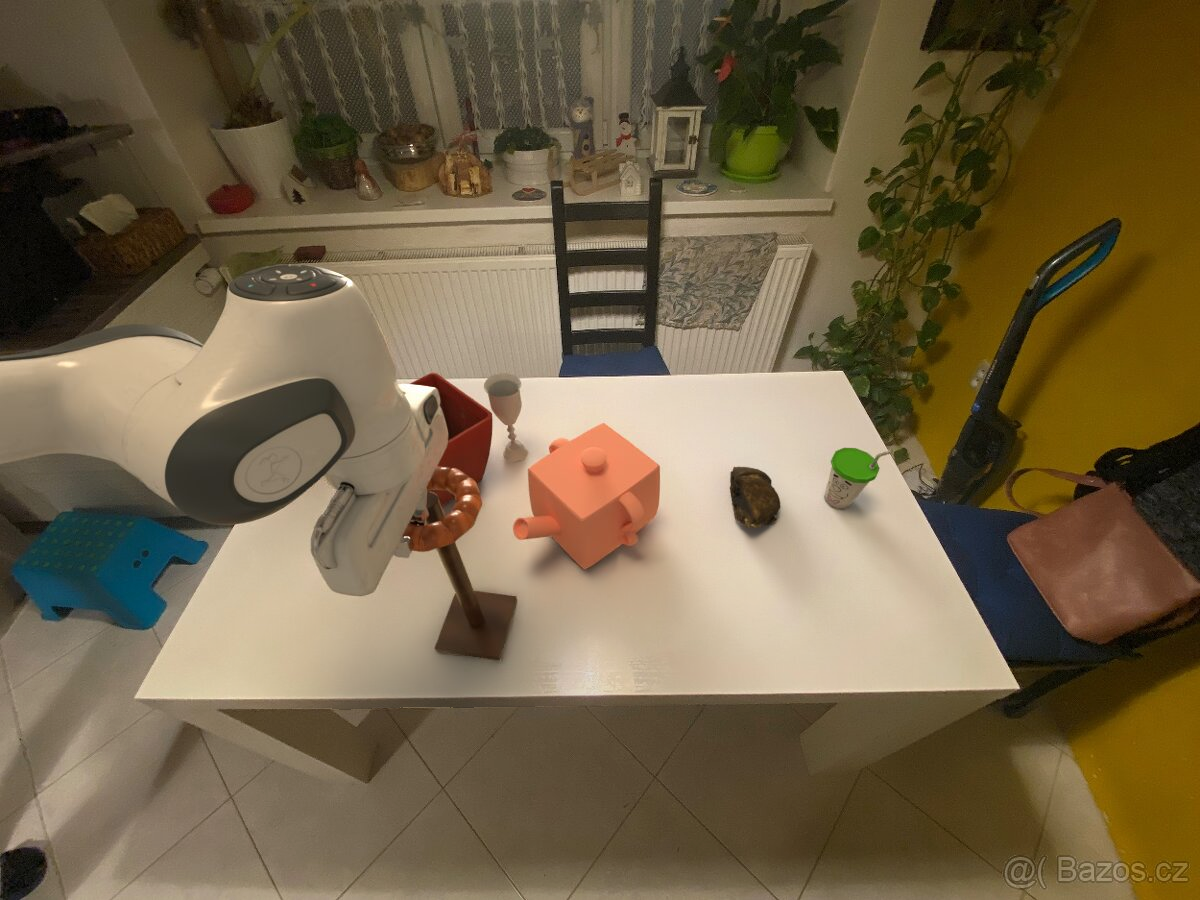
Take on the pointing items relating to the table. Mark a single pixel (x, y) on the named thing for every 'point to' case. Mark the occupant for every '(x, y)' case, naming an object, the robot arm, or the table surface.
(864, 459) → the cup
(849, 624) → the table surface
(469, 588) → the stand
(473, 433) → the flower pot
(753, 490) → the dark brown irregular lump
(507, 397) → the chalice
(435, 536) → the ring
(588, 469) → the teapot
